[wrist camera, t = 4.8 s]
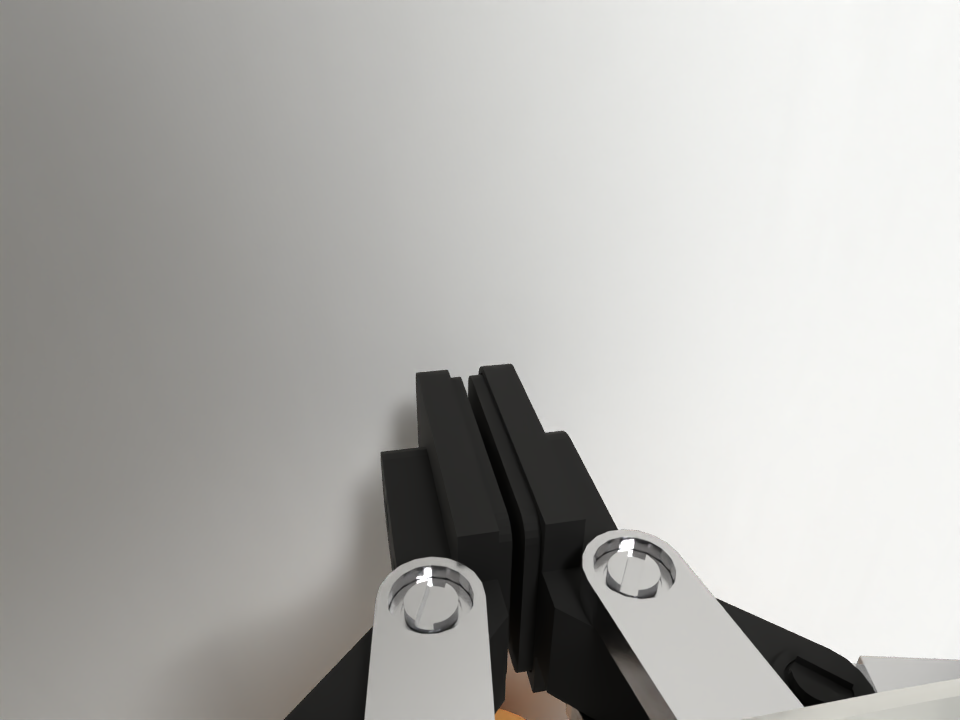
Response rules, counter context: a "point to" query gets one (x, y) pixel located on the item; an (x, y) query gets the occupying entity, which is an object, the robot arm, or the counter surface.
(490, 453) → the robot arm
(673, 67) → the counter surface
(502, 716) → the ball
